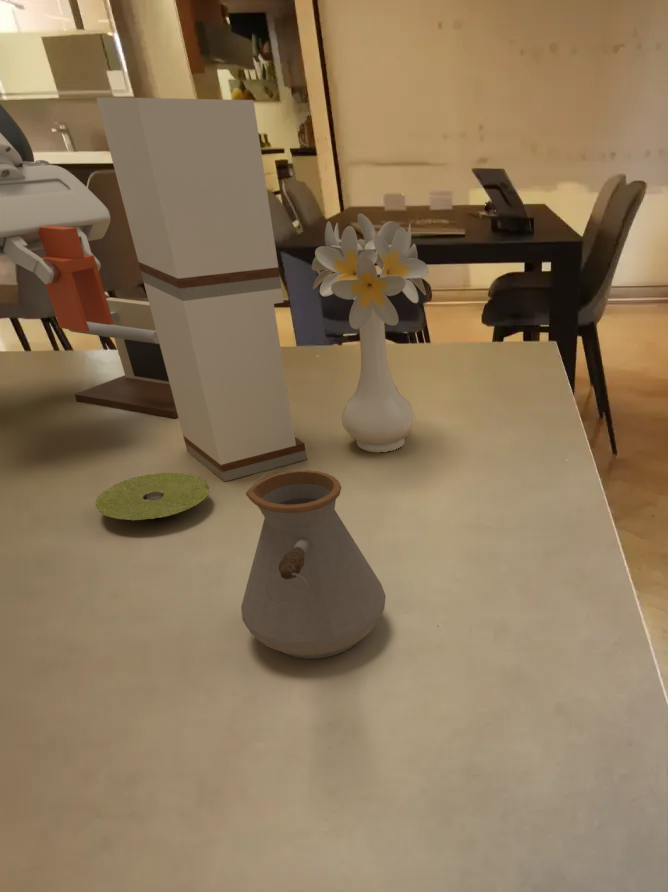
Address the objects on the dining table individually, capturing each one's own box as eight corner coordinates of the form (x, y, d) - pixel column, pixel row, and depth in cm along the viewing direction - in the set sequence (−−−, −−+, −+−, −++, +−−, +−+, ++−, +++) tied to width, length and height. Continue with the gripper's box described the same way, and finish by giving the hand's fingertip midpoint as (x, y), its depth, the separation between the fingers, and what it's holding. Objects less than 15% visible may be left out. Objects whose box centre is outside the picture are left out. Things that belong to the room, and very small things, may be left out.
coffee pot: (252, 598, 62) (215, 434, 53) (382, 587, 64) (368, 425, 54) (230, 779, 45) (170, 585, 36) (406, 756, 47) (392, 566, 38)
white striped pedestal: (307, 459, 86) (253, 100, 65) (224, 481, 81) (136, 97, 59) (265, 432, 93) (205, 99, 72) (187, 451, 88) (96, 97, 66)
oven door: (175, 418, 97) (151, 325, 89) (76, 400, 102) (45, 311, 94) (226, 394, 105) (208, 308, 97) (132, 379, 110) (107, 296, 102)
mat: (220, 485, 80) (216, 469, 79) (204, 532, 71) (200, 515, 70) (116, 491, 79) (111, 474, 77) (87, 539, 70) (81, 522, 69)
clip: (85, 332, 80) (54, 231, 74) (59, 328, 81) (26, 228, 75) (113, 323, 83) (85, 226, 77) (88, 320, 84) (58, 223, 78)
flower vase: (347, 481, 82) (319, 235, 66) (323, 425, 95) (296, 211, 80) (453, 467, 85) (450, 231, 70) (416, 416, 99) (407, 209, 83)
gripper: (47, 182, 85) (134, 279, 88) (-124, 196, 70) (-12, 313, 73) (62, 138, 81) (152, 241, 84) (-116, 143, 66) (2, 269, 69)
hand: (74, 275), depth 78 cm, fingers closed on clip, 4 cm apart
